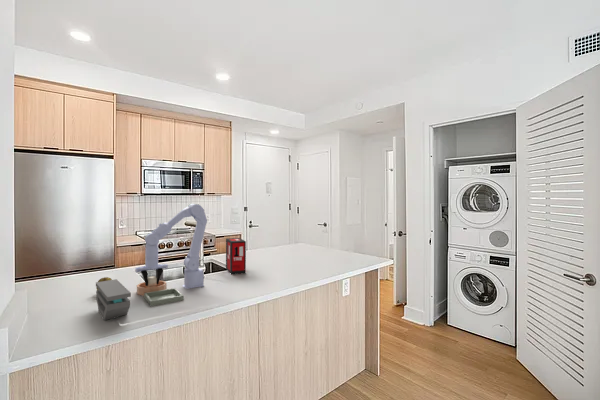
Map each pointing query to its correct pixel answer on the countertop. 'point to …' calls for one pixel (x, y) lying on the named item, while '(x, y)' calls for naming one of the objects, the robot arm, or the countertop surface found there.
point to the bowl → (144, 289)
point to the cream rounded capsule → (152, 281)
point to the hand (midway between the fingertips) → (151, 284)
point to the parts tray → (163, 296)
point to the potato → (104, 280)
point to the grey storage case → (112, 299)
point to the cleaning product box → (236, 255)
